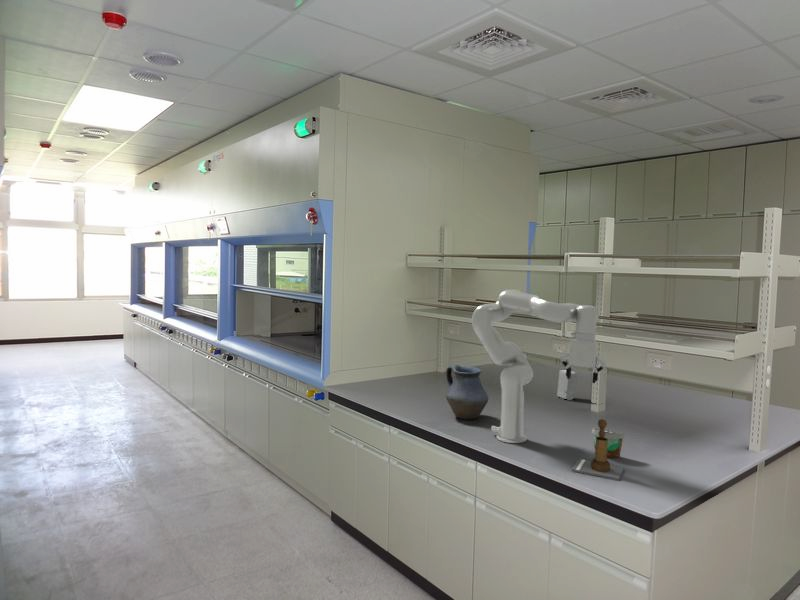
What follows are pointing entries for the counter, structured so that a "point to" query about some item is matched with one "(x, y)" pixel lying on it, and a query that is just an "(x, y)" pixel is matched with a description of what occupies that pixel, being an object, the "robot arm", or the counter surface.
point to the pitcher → (465, 392)
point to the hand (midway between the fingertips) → (581, 380)
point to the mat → (585, 467)
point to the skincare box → (567, 385)
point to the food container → (611, 442)
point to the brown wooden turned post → (601, 450)
